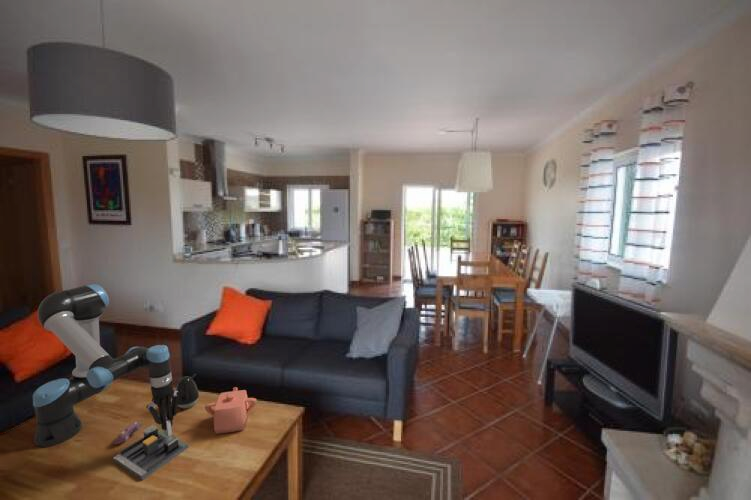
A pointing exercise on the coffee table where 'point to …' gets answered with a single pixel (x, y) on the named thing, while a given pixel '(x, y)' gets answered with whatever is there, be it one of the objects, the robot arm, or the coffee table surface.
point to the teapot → (231, 411)
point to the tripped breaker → (150, 444)
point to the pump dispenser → (187, 392)
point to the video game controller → (127, 433)
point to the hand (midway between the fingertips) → (168, 434)
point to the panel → (149, 463)
